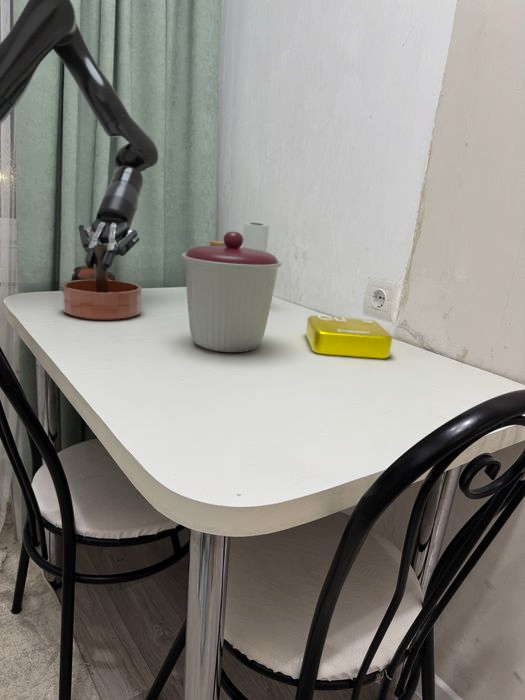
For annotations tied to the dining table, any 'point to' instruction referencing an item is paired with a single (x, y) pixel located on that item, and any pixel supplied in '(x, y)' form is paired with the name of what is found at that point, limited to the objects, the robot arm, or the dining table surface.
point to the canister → (229, 294)
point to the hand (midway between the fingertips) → (96, 266)
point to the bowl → (101, 300)
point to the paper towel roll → (255, 236)
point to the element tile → (348, 337)
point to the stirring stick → (100, 269)
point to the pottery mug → (87, 274)
